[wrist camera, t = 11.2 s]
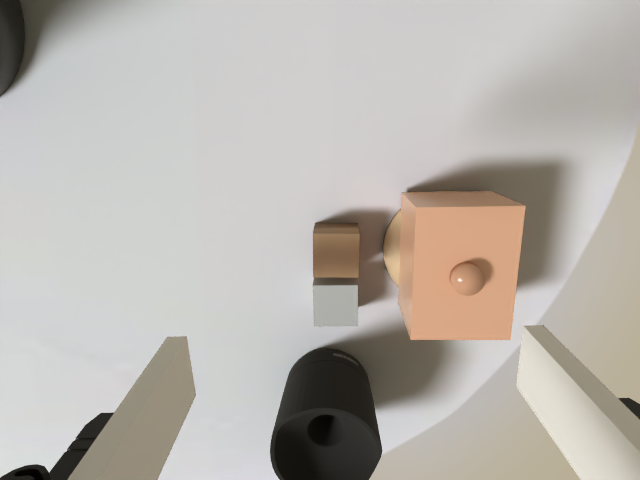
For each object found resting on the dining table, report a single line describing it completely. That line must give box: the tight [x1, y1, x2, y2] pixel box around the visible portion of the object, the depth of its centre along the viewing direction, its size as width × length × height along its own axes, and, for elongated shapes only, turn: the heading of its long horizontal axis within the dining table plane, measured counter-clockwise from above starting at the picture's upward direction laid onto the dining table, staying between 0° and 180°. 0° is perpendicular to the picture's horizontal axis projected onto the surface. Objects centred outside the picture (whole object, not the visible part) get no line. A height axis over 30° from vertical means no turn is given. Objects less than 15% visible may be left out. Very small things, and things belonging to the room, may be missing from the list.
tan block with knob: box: [398, 191, 526, 340], centre depth 35 cm, size 11×8×8 cm
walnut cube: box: [313, 223, 360, 278], centre depth 38 cm, size 4×4×4 cm
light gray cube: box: [313, 277, 358, 326], centre depth 39 cm, size 4×4×4 cm
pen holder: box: [270, 349, 382, 480], centre depth 39 cm, size 9×9×10 cm
